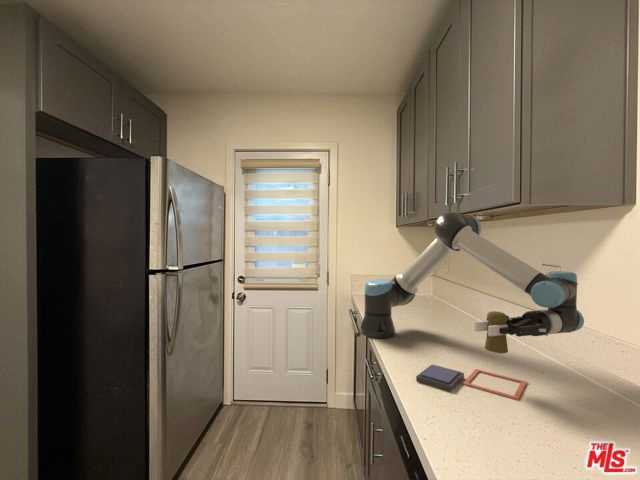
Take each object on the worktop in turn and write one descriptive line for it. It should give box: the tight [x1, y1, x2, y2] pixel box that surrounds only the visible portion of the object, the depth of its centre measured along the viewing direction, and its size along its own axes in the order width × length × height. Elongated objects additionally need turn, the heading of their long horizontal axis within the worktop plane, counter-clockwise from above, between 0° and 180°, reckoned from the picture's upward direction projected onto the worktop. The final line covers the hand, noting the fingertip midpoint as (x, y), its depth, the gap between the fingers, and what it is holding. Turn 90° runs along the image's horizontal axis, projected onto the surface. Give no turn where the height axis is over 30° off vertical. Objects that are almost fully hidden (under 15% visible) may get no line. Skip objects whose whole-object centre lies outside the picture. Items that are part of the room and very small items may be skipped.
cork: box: [484, 310, 509, 354], centre depth 96 cm, size 6×6×11 cm
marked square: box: [462, 368, 528, 401], centre depth 97 cm, size 14×14×1 cm
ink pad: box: [415, 364, 465, 393], centre depth 99 cm, size 12×10×2 cm
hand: (482, 328), depth 95 cm, fingers closed on cork, 4 cm apart
